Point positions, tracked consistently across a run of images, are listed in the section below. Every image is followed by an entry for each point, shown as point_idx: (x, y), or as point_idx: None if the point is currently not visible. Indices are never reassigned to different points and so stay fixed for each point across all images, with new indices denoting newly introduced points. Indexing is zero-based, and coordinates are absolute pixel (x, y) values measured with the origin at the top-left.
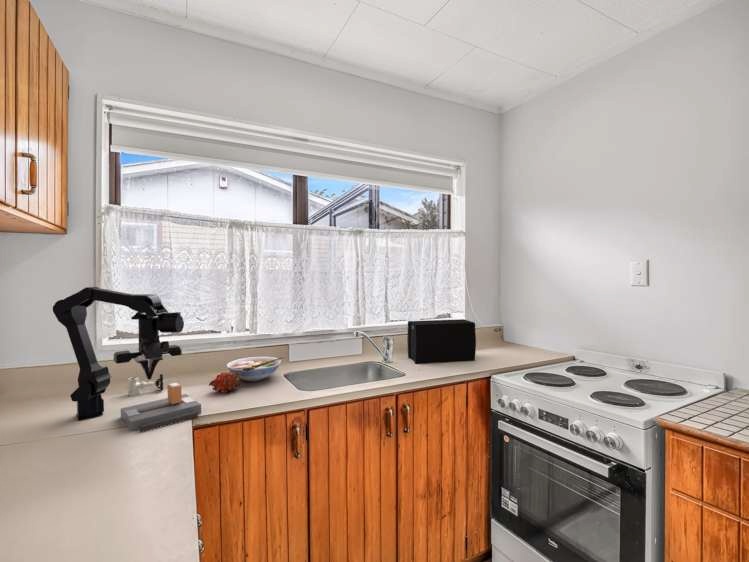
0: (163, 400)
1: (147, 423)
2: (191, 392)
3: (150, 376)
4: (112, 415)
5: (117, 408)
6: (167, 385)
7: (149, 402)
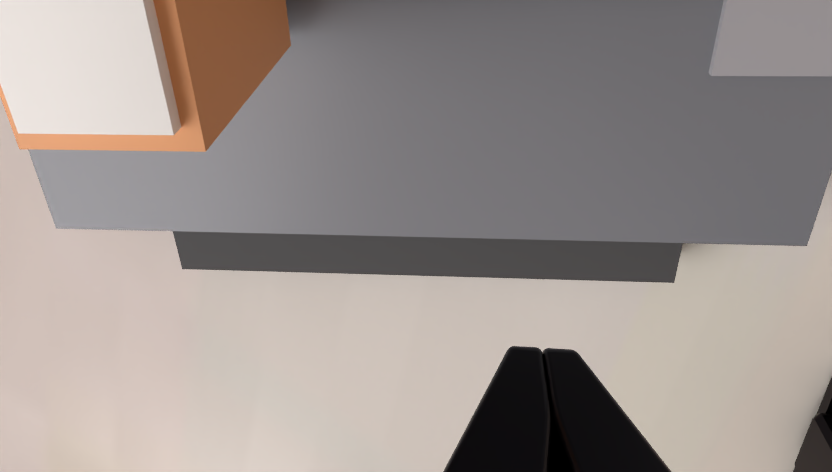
0: (329, 177)
1: None
2: (53, 403)
3: (525, 390)
4: (783, 305)
5: (670, 439)
6: (209, 142)
7: (484, 221)
